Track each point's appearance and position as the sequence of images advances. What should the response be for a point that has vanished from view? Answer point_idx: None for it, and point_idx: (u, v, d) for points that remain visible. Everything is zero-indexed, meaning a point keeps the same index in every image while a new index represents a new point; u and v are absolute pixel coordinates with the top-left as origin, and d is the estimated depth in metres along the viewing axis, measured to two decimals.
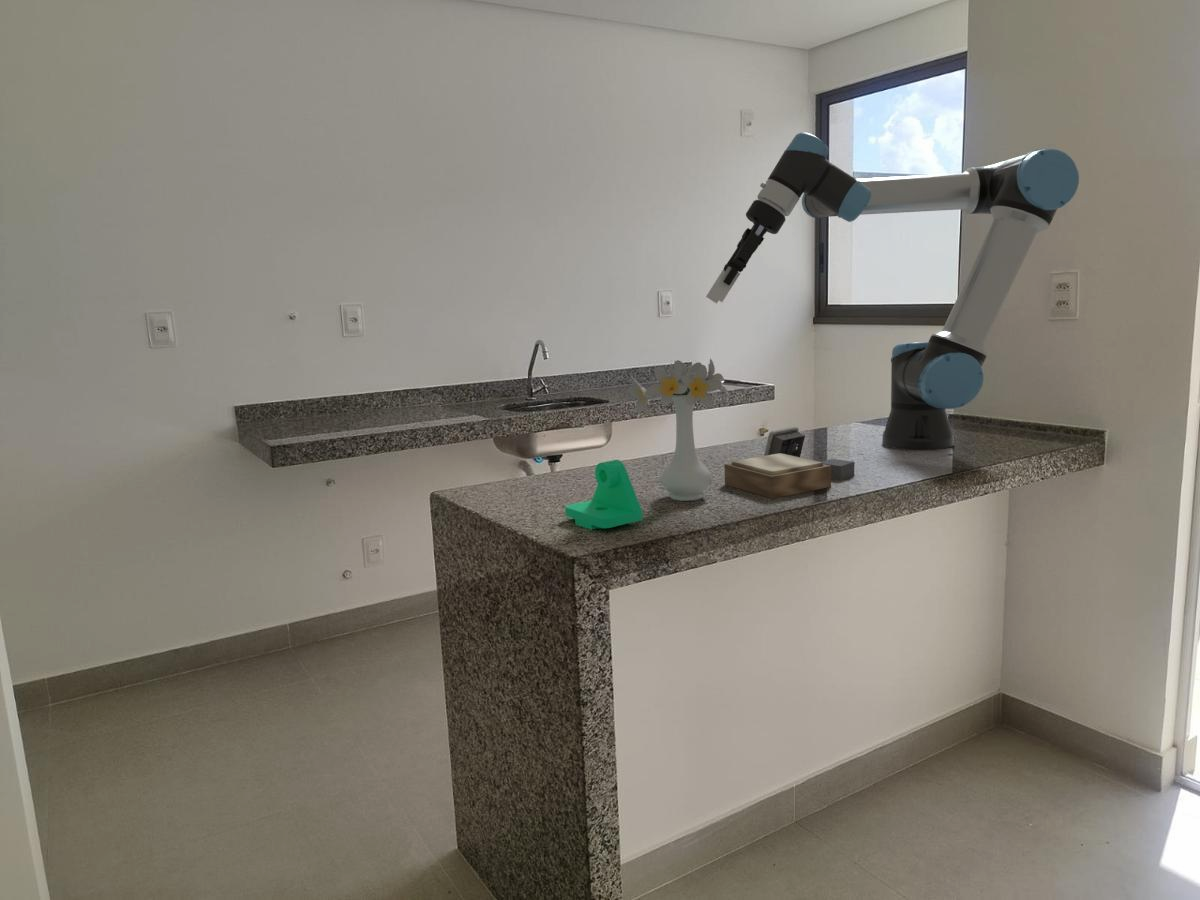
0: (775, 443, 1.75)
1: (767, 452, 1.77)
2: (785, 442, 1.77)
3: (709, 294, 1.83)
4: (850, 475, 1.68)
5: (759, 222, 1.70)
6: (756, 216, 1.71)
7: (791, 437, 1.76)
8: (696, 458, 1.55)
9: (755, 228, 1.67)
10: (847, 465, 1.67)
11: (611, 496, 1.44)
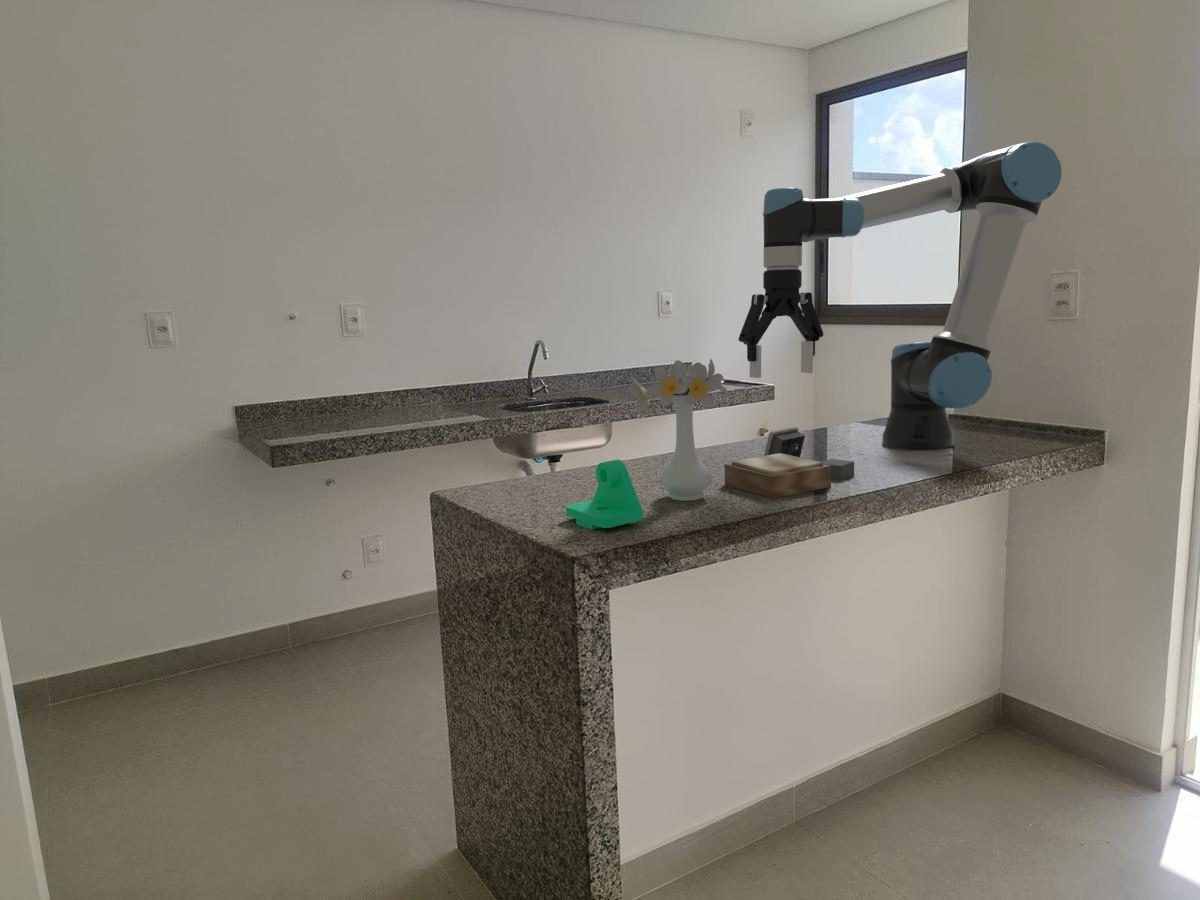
0: (775, 443, 1.75)
1: (767, 452, 1.77)
2: (785, 442, 1.77)
3: (802, 368, 1.80)
4: (850, 475, 1.68)
5: (765, 290, 1.72)
6: (763, 286, 1.73)
7: (791, 437, 1.76)
8: (696, 458, 1.55)
9: (752, 300, 1.71)
10: (847, 465, 1.67)
11: (612, 495, 1.44)
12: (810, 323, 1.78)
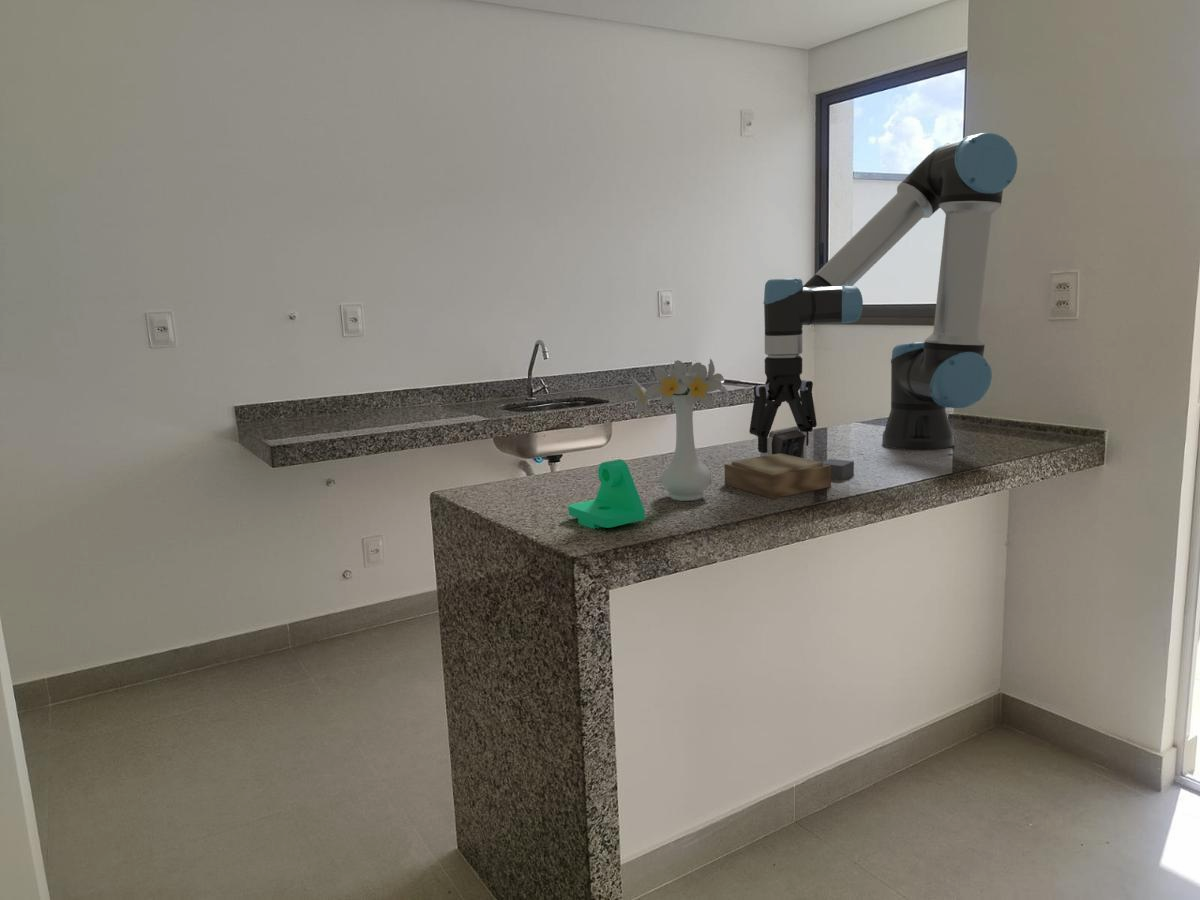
0: (775, 443, 1.76)
1: None
2: (786, 442, 1.77)
3: None
4: (850, 475, 1.68)
5: (767, 377, 1.75)
6: (765, 373, 1.76)
7: (792, 437, 1.76)
8: (696, 458, 1.55)
9: (754, 392, 1.74)
10: (847, 465, 1.67)
11: (614, 495, 1.45)
12: (806, 411, 1.80)
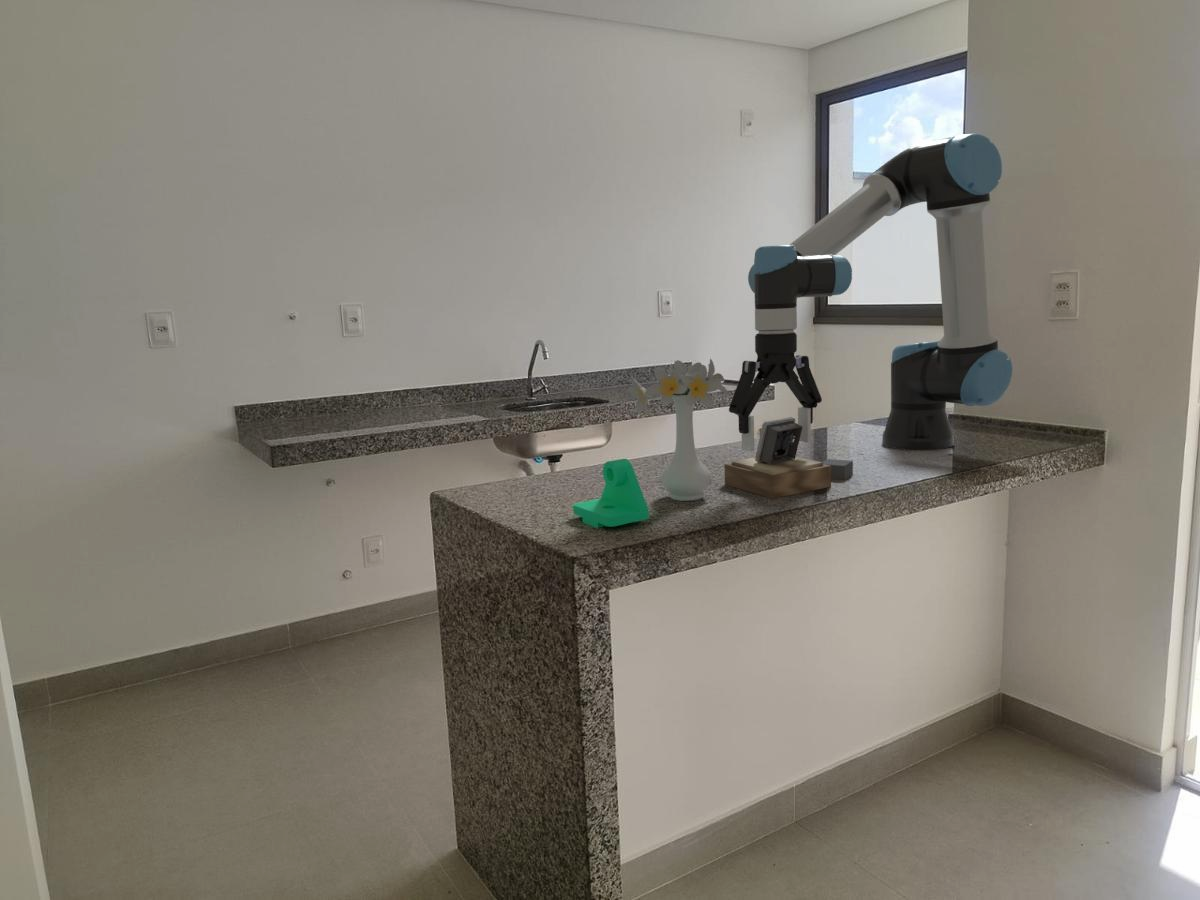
0: (769, 435, 1.59)
1: (760, 445, 1.60)
2: (780, 434, 1.61)
3: None
4: (850, 474, 1.68)
5: (757, 355, 1.58)
6: (755, 351, 1.59)
7: (787, 428, 1.59)
8: (696, 458, 1.55)
9: (743, 367, 1.57)
10: (848, 464, 1.67)
11: (619, 494, 1.45)
12: (807, 388, 1.64)
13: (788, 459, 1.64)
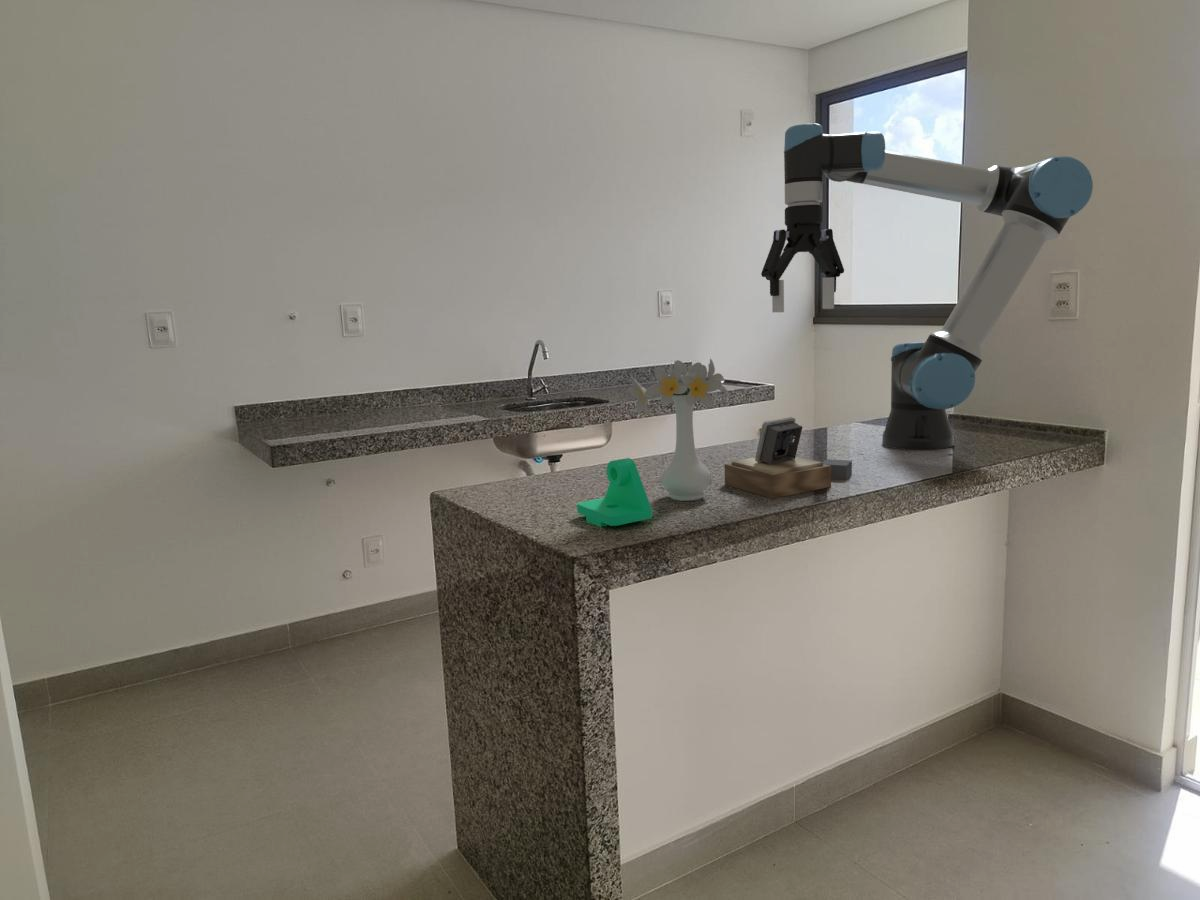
0: (769, 435, 1.59)
1: (760, 445, 1.60)
2: (780, 434, 1.61)
3: (823, 305, 1.83)
4: (850, 474, 1.69)
5: (787, 226, 1.75)
6: (785, 223, 1.76)
7: (787, 428, 1.59)
8: (696, 458, 1.55)
9: (774, 236, 1.74)
10: (849, 464, 1.67)
11: (623, 494, 1.45)
12: (831, 260, 1.81)
13: (788, 459, 1.64)
